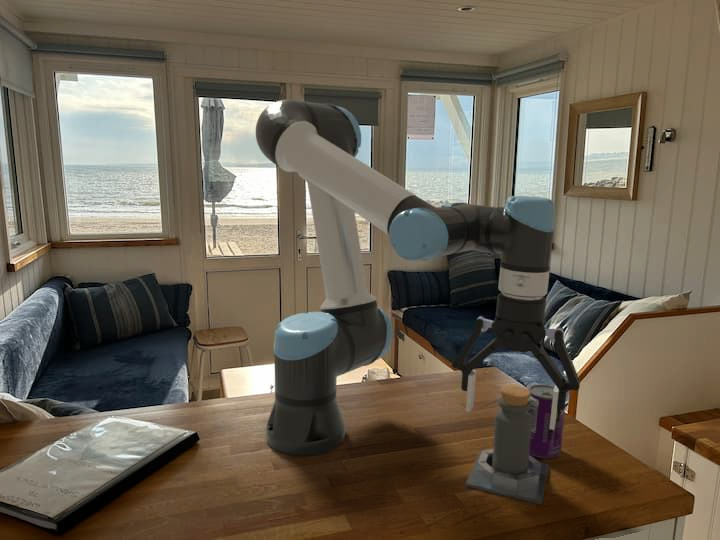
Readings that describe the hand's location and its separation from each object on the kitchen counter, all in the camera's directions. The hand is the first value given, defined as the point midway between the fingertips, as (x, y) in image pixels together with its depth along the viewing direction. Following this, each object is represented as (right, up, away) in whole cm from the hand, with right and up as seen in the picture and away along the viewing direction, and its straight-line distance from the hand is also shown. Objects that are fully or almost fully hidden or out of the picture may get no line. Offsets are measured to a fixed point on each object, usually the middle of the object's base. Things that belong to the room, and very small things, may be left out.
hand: (509, 417), depth 94 cm
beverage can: (+9, -9, +10) cm, 16 cm away
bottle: (0, -10, +2) cm, 10 cm away
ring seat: (0, -11, +2) cm, 11 cm away
